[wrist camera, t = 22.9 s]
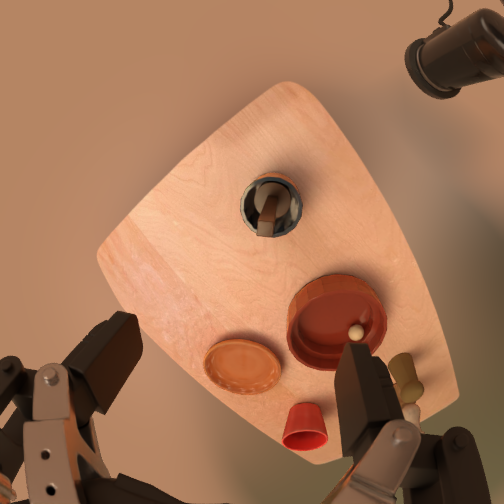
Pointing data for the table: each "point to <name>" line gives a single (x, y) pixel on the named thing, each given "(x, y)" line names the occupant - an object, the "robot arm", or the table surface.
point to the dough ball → (356, 332)
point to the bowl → (333, 320)
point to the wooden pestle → (271, 205)
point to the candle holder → (409, 410)
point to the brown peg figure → (406, 377)
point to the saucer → (242, 367)
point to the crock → (282, 223)
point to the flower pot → (304, 428)
